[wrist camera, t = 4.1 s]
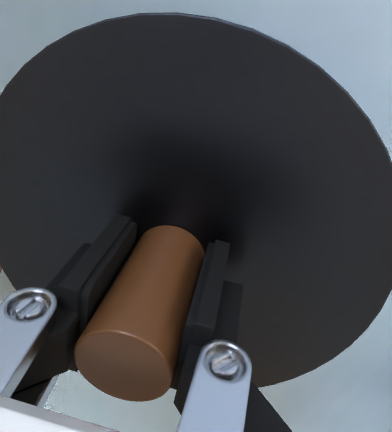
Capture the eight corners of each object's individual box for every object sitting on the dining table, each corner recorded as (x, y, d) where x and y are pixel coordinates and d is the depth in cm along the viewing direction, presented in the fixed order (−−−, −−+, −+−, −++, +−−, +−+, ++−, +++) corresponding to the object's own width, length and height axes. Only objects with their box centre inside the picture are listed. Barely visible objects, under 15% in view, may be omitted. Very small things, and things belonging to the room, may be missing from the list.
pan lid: (13, 321, 18) (-90, 440, 13) (-31, -36, 11) (-332, -96, 5) (304, 406, 17) (320, 572, 12) (499, 78, 9) (788, 144, 4)
